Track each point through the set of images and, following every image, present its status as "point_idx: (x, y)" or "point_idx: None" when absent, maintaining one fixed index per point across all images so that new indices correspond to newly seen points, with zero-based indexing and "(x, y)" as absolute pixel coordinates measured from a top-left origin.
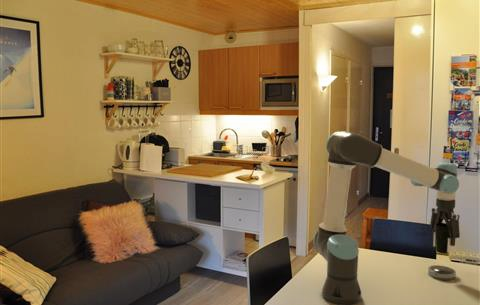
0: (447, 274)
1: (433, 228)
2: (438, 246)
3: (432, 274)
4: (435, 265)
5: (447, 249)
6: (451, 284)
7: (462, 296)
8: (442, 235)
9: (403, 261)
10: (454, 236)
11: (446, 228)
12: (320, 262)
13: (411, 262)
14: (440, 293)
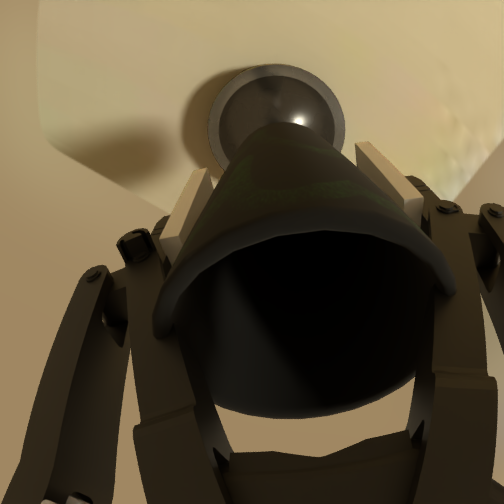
0: (215, 127)
1: (457, 221)
2: (269, 132)
3: (256, 66)
4: (343, 136)
5: (203, 177)
6: (169, 115)
7: (64, 109)
8: (212, 196)
9: (463, 60)
10: (85, 280)
11: (156, 307)
12: None
13: (448, 87)
14: (85, 33)
